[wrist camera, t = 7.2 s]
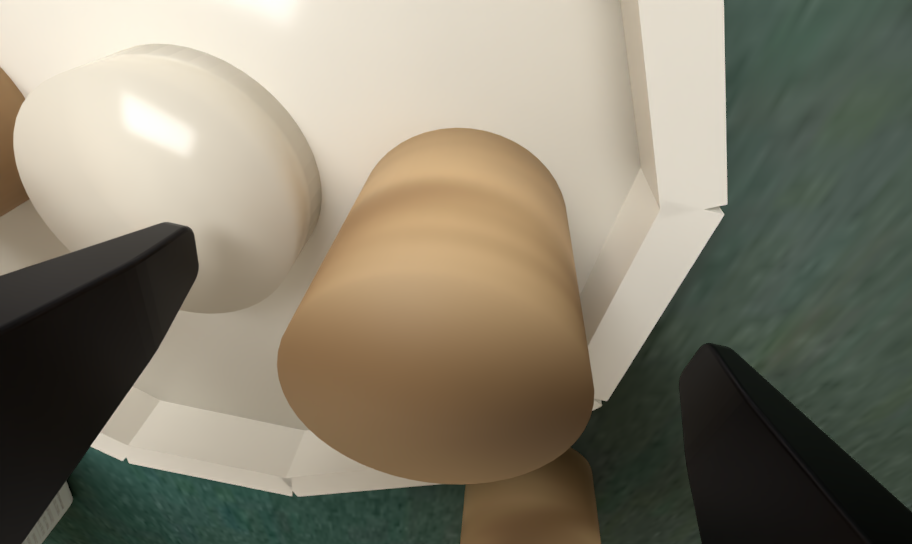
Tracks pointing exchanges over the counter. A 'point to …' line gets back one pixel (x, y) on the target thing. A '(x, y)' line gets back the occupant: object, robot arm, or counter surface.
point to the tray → (346, 174)
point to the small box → (50, 516)
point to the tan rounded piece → (445, 318)
